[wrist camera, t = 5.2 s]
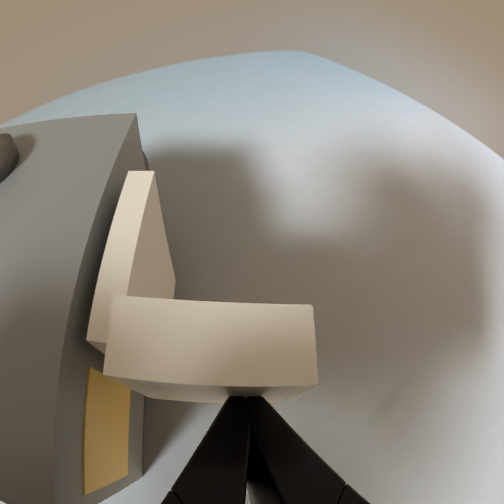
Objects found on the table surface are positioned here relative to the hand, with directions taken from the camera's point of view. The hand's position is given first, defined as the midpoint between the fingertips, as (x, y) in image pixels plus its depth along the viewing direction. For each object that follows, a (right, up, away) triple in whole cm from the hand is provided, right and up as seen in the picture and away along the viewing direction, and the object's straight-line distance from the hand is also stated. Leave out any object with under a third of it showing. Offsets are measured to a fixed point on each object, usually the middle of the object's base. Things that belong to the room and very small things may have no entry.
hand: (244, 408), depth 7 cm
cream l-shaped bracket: (-2, 0, +6) cm, 6 cm away
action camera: (-8, -1, +6) cm, 10 cm away
